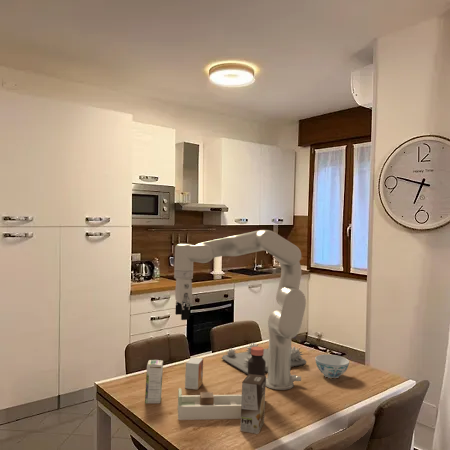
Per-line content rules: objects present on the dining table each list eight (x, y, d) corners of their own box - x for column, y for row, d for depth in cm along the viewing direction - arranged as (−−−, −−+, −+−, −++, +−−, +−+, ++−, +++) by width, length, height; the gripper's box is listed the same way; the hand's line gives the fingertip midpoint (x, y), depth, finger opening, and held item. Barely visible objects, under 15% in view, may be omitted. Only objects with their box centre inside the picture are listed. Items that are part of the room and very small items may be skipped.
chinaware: (311, 379, 189) (312, 361, 189) (317, 368, 203) (318, 352, 203) (346, 385, 183) (347, 367, 183) (350, 374, 197) (350, 357, 197)
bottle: (259, 405, 159) (261, 352, 159) (243, 400, 163) (245, 348, 163) (267, 399, 165) (269, 347, 165) (251, 394, 169) (253, 344, 169)
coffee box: (258, 434, 137) (260, 385, 137) (239, 431, 139) (241, 382, 139) (264, 422, 146) (266, 375, 146) (246, 419, 148) (248, 373, 148)
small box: (197, 390, 172) (198, 364, 172) (184, 388, 173) (185, 362, 173) (202, 383, 179) (203, 358, 179) (190, 381, 181) (191, 356, 180)
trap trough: (253, 406, 158) (253, 386, 158) (258, 418, 149) (259, 396, 149) (177, 407, 155) (178, 387, 155) (178, 419, 145) (178, 398, 145)
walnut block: (212, 403, 154) (212, 392, 154) (213, 408, 149) (213, 397, 149) (199, 403, 153) (200, 392, 153) (200, 409, 149) (200, 397, 149)
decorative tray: (276, 352, 228) (277, 333, 228) (309, 367, 206) (309, 346, 206) (220, 360, 211) (220, 340, 210) (249, 378, 188) (250, 355, 188)
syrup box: (146, 397, 163) (147, 359, 163) (161, 397, 163) (163, 359, 163) (144, 403, 157) (146, 364, 157) (160, 403, 158) (162, 364, 157)
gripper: (198, 277, 164) (197, 321, 164) (187, 271, 180) (185, 312, 180) (179, 277, 162) (178, 322, 162) (169, 272, 178) (168, 312, 178)
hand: (182, 317), depth 171 cm, fingers open, 9 cm apart
